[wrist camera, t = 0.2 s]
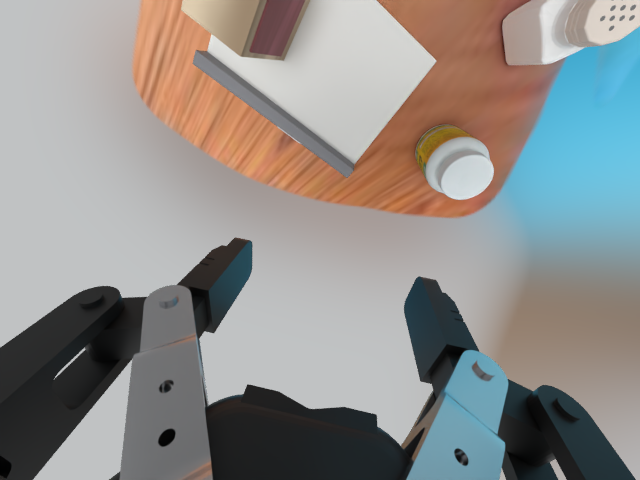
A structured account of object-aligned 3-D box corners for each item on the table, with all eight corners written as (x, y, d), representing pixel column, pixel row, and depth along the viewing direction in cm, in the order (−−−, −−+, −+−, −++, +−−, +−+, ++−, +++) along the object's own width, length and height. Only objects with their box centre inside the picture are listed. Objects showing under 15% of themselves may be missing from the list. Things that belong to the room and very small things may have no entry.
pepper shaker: (503, 68, 22) (575, 68, 15) (498, 19, 20) (576, -10, 13) (556, 40, 20) (668, 24, 13) (555, -16, 19) (684, -72, 11)
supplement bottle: (473, 148, 27) (517, 180, 19) (430, 179, 29) (453, 217, 22) (448, 111, 25) (484, 130, 17) (404, 147, 28) (420, 178, 20)
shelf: (261, -108, 18) (240, -146, 15) (431, 61, 23) (442, 60, 19) (213, 65, 26) (192, 65, 22) (348, 167, 30) (346, 179, 27)
